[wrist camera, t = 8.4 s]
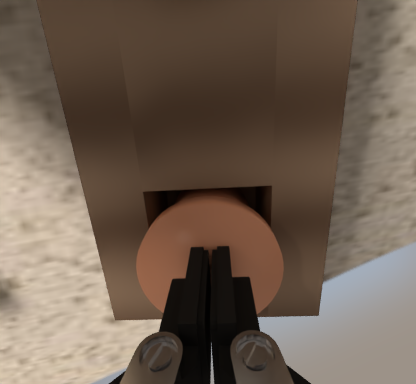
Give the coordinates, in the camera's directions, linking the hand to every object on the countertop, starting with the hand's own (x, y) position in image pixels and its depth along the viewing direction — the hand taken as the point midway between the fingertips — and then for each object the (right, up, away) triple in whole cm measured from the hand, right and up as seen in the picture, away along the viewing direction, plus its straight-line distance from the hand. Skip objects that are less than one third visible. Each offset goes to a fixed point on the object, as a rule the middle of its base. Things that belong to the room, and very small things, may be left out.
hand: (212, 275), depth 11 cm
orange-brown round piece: (0, +2, +6) cm, 6 cm away
